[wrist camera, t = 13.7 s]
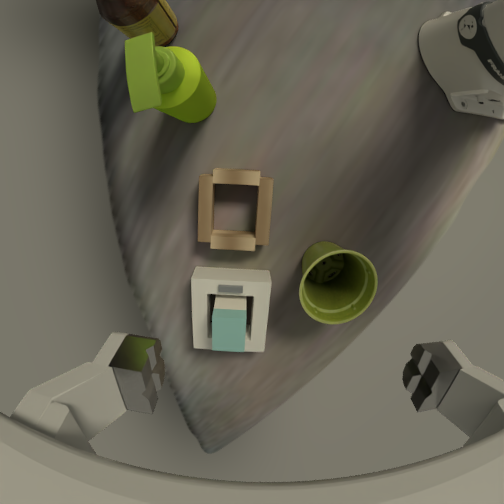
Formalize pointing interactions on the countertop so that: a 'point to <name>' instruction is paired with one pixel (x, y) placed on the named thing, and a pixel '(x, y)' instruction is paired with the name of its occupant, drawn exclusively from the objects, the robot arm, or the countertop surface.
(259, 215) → the brown wooden square frame
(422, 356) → the robot arm
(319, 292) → the plant pot
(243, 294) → the port
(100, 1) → the sauce bottle
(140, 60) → the soap dispenser
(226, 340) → the plug
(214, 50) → the countertop surface
